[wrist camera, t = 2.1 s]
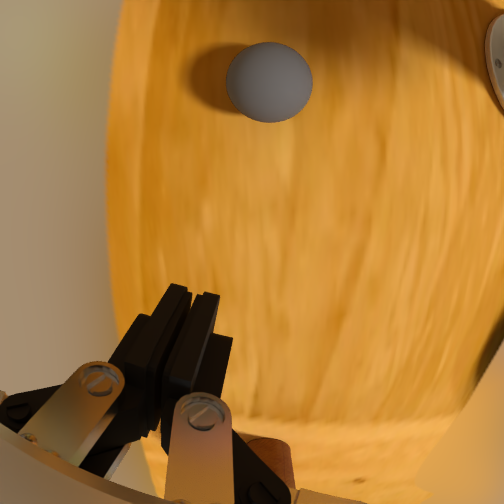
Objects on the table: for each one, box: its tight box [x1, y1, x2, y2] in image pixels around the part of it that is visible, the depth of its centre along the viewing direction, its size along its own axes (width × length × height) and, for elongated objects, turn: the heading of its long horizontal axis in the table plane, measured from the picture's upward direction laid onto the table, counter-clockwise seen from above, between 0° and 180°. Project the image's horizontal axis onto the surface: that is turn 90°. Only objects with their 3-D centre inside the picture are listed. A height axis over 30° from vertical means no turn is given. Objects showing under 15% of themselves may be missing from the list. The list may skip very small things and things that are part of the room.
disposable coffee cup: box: [247, 439, 296, 489], centre depth 32 cm, size 10×10×12 cm
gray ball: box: [226, 42, 313, 123], centre depth 18 cm, size 6×6×6 cm
